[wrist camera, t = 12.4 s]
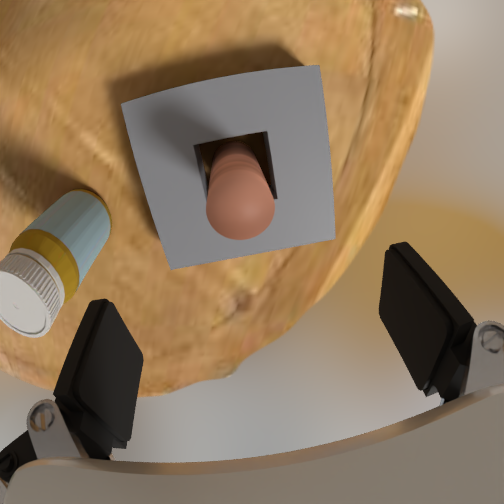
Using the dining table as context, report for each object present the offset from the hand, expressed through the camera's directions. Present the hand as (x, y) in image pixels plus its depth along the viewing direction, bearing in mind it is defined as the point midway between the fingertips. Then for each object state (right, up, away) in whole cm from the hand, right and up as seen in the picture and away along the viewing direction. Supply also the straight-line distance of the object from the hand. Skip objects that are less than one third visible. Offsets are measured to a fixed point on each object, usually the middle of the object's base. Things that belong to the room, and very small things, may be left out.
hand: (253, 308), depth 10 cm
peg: (-2, +10, +18) cm, 21 cm away
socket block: (-2, +10, +18) cm, 21 cm away
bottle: (-18, +6, +19) cm, 27 cm away
